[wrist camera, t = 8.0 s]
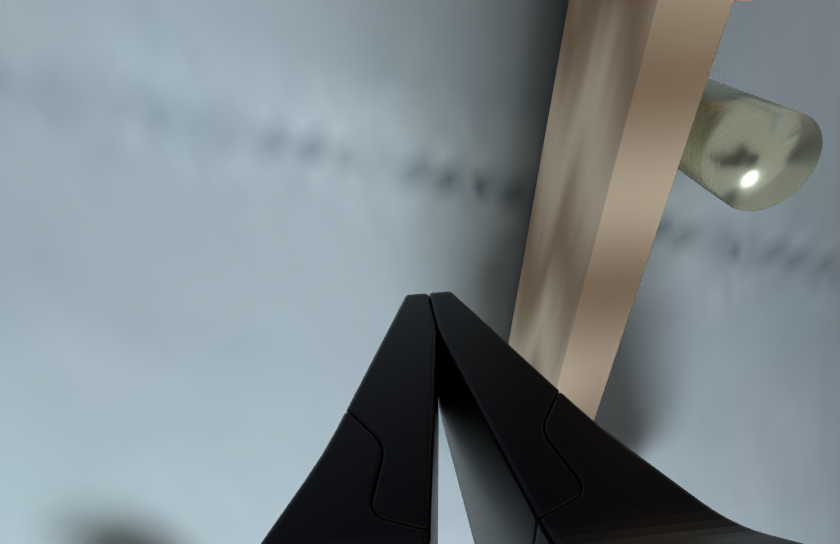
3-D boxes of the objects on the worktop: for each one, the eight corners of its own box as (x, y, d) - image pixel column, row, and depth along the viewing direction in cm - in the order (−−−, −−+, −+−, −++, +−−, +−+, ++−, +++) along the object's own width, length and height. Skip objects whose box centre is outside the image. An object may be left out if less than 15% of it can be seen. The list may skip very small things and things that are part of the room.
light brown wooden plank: (547, 371, 22) (588, 468, 18) (494, 373, 22) (524, 471, 18) (659, -101, 13) (795, -124, 9) (572, -106, 13) (670, -132, 9)
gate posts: (696, 70, 16) (883, 138, 10) (527, 415, 25) (578, 560, 19) (630, 53, 16) (786, 113, 10) (480, 410, 24) (517, 558, 18)
